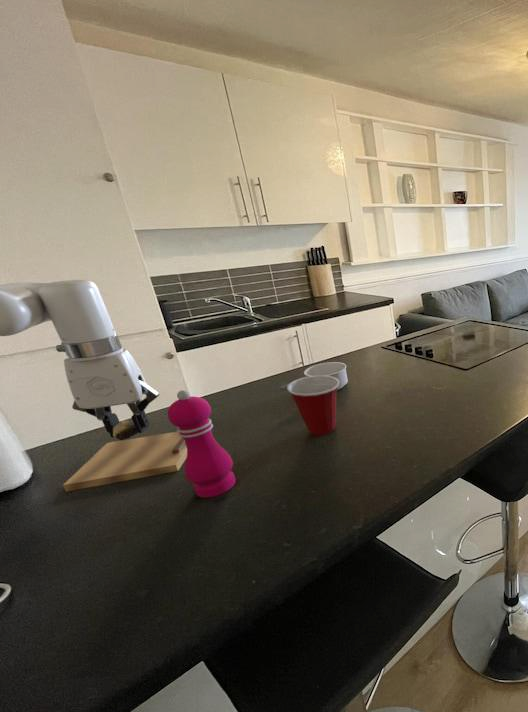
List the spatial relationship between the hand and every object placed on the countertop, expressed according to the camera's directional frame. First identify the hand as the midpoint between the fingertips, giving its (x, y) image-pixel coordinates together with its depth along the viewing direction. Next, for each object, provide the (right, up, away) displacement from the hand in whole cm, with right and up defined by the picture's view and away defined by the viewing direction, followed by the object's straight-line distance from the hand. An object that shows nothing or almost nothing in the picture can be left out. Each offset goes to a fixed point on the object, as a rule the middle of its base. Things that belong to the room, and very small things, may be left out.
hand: (130, 431), depth 84 cm
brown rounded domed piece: (0, 0, 0) cm, 1 cm away
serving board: (0, -6, +3) cm, 7 cm away
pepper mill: (+23, -10, -7) cm, 26 cm away
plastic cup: (+35, -1, +12) cm, 37 cm away
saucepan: (+24, +7, +32) cm, 41 cm away
